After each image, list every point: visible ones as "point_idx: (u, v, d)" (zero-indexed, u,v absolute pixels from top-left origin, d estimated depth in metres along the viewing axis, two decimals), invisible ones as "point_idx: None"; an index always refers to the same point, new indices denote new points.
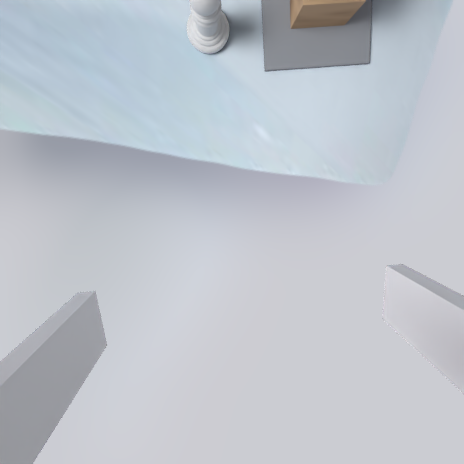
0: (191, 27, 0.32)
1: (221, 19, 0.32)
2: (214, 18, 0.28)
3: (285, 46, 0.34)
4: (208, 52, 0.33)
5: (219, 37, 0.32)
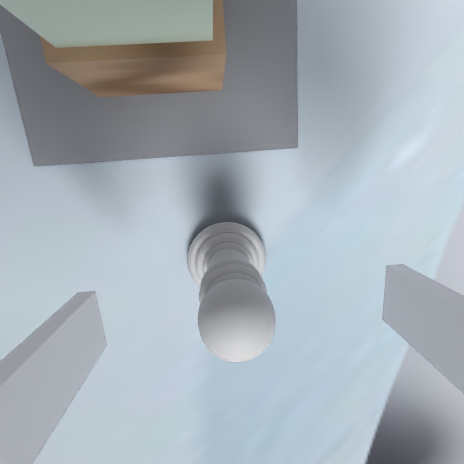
0: None
1: (217, 240, 0.16)
2: (259, 280, 0.13)
3: (255, 102, 0.16)
4: (265, 260, 0.18)
5: (247, 244, 0.17)
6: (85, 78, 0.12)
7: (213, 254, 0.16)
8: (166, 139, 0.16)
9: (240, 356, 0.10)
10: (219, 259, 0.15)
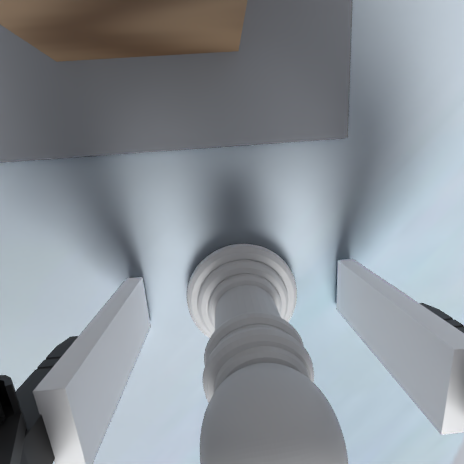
0: None
1: (229, 271, 0.11)
2: (304, 356, 0.07)
3: (287, 70, 0.10)
4: (296, 297, 0.13)
5: (272, 277, 0.12)
6: (11, 13, 0.07)
7: (224, 292, 0.11)
8: (156, 125, 0.11)
9: None
10: (234, 306, 0.10)
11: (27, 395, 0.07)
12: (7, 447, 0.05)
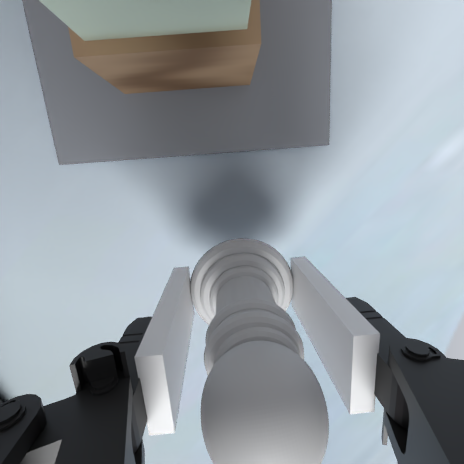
0: None
1: (229, 264, 0.12)
2: (294, 336, 0.08)
3: (285, 97, 0.15)
4: (292, 289, 0.13)
5: (269, 269, 0.12)
6: (113, 73, 0.12)
7: (225, 282, 0.12)
8: (191, 136, 0.15)
9: None
10: (233, 295, 0.10)
11: None
12: (123, 406, 0.06)
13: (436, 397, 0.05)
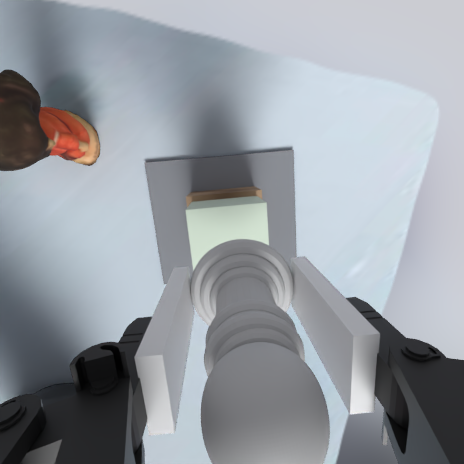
0: None
1: (229, 264, 0.12)
2: (295, 338, 0.08)
3: None
4: (292, 289, 0.13)
5: (269, 269, 0.12)
6: None
7: (225, 283, 0.12)
8: None
9: None
10: (233, 296, 0.10)
11: None
12: (123, 406, 0.06)
13: (436, 397, 0.05)
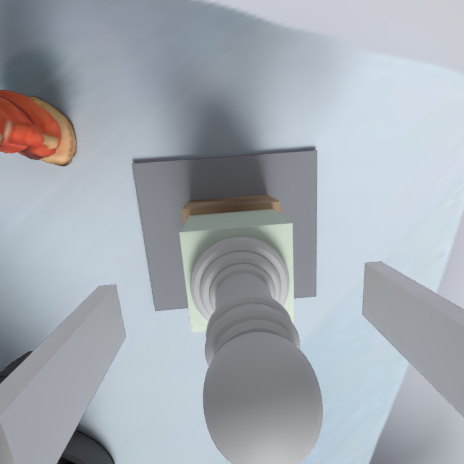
0: None
1: (227, 261, 0.13)
2: (291, 328, 0.09)
3: None
4: (289, 285, 0.14)
5: (266, 266, 0.13)
6: None
7: (223, 279, 0.12)
8: None
9: None
10: (232, 290, 0.11)
11: None
12: None
13: None
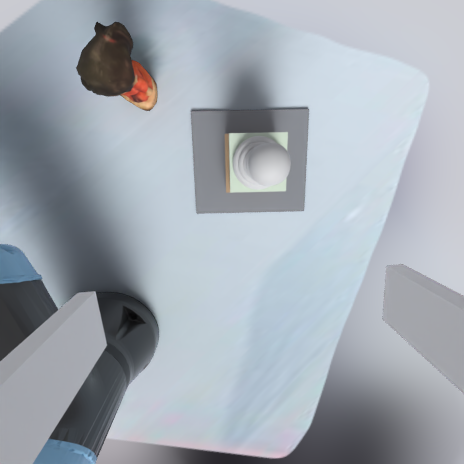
0: (259, 183, 0.27)
1: (254, 145, 0.26)
2: None
3: (287, 193, 0.38)
4: None
5: None
6: None
7: None
8: (250, 205, 0.39)
9: (271, 174, 0.19)
10: None
11: None
12: None
13: None
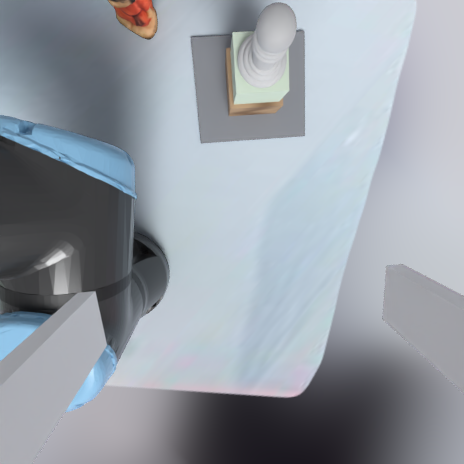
0: (264, 79, 0.28)
1: None
2: None
3: (288, 117, 0.40)
4: (286, 60, 0.28)
5: None
6: (234, 111, 0.36)
7: None
8: (252, 132, 0.40)
9: (280, 30, 0.20)
10: None
11: None
12: None
13: None
